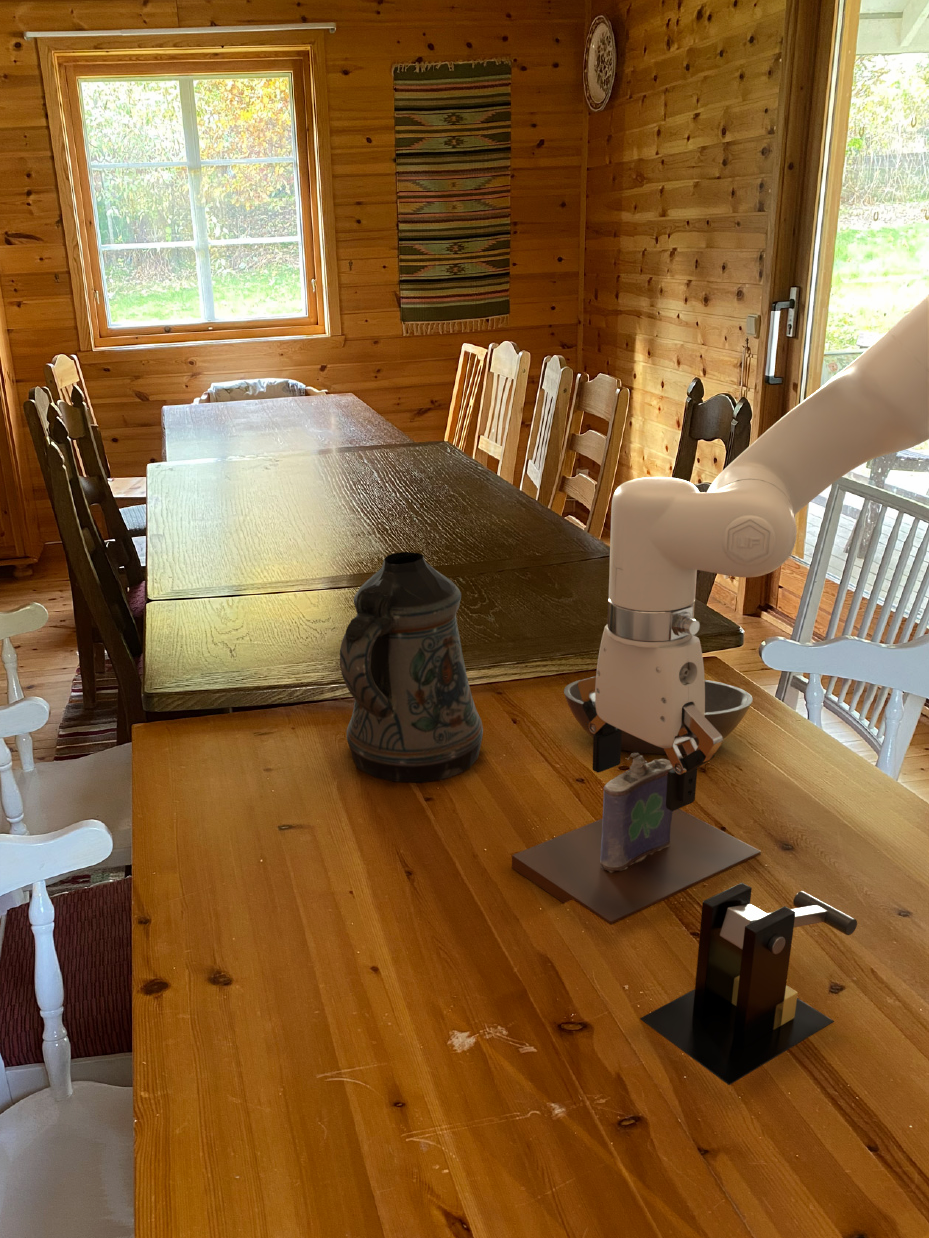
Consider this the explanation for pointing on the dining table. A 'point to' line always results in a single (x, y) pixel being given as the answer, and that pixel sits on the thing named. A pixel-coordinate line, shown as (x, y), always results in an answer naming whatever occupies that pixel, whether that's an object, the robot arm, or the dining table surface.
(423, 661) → the beer stein
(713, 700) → the bowl
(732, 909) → the lever
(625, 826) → the flask
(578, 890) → the cutting board
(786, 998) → the butter
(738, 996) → the dark brown stand
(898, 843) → the dining table surface
